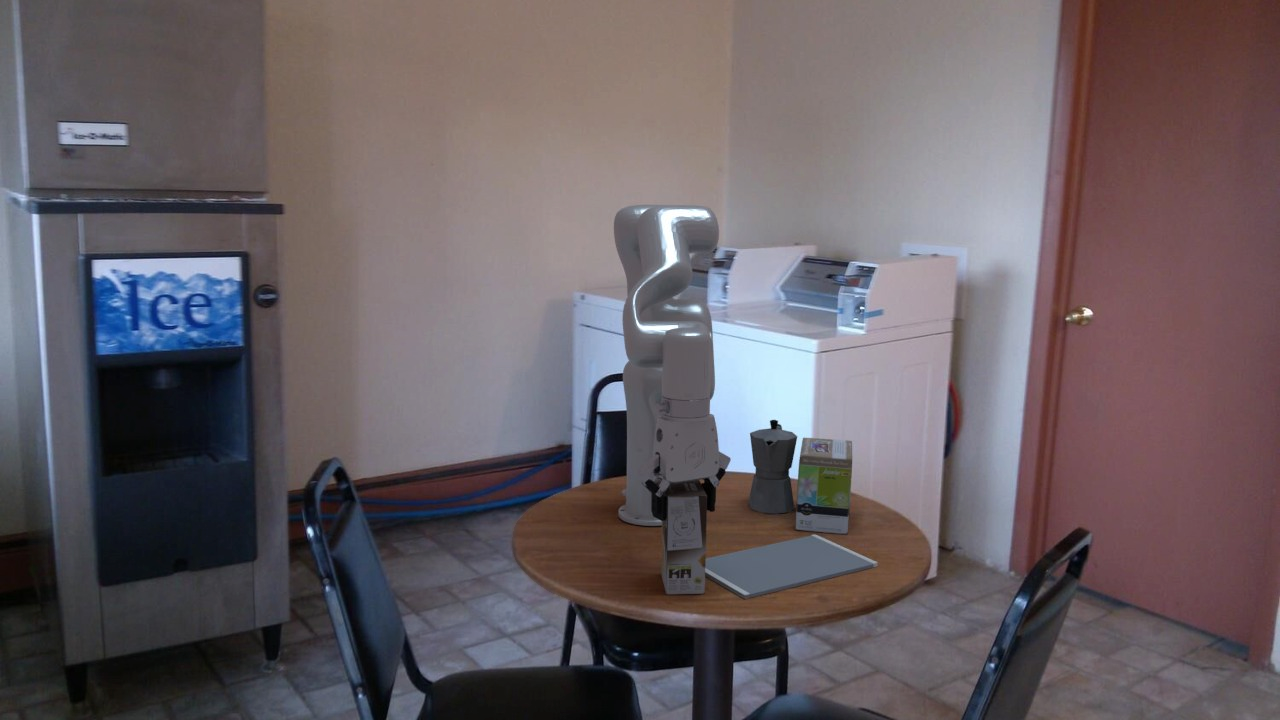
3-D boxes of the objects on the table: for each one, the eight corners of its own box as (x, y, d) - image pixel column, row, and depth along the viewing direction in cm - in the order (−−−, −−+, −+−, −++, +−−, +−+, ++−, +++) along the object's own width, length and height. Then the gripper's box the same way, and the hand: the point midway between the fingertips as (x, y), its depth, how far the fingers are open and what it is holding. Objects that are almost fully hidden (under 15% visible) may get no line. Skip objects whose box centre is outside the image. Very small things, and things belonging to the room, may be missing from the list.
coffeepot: (790, 519, 191) (794, 429, 188) (742, 515, 193) (745, 425, 190) (799, 496, 206) (802, 412, 203) (754, 492, 208) (756, 409, 205)
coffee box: (706, 594, 155) (708, 495, 152) (665, 595, 154) (667, 496, 152) (697, 572, 164) (700, 478, 161) (659, 573, 163) (661, 479, 161)
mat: (687, 565, 167) (687, 561, 166) (814, 537, 181) (815, 534, 181) (744, 599, 153) (744, 594, 153) (877, 566, 167) (877, 562, 167)
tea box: (849, 535, 183) (853, 458, 180) (794, 531, 185) (797, 454, 182) (849, 510, 197) (852, 438, 195) (798, 506, 199) (801, 435, 197)
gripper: (650, 417, 147) (649, 529, 149) (745, 406, 155) (741, 512, 158) (625, 408, 153) (624, 515, 156) (717, 397, 162) (714, 499, 165)
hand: (683, 513), depth 157 cm, fingers closed on coffee box, 8 cm apart
